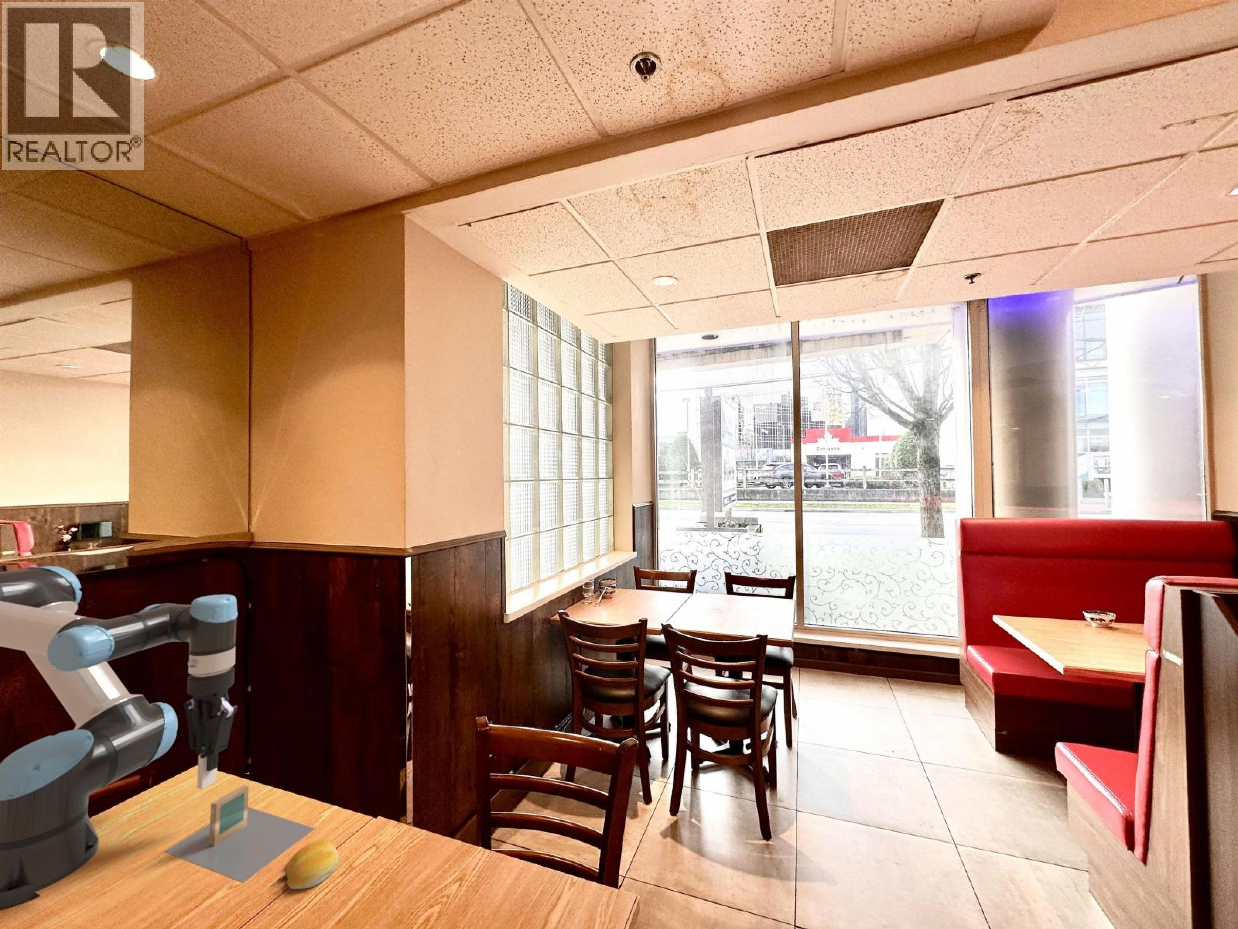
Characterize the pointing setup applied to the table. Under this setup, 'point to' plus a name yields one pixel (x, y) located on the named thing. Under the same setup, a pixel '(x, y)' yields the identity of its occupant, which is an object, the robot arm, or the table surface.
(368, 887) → the table surface
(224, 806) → the light wood flat block
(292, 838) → the slate board
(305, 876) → the bread roll
